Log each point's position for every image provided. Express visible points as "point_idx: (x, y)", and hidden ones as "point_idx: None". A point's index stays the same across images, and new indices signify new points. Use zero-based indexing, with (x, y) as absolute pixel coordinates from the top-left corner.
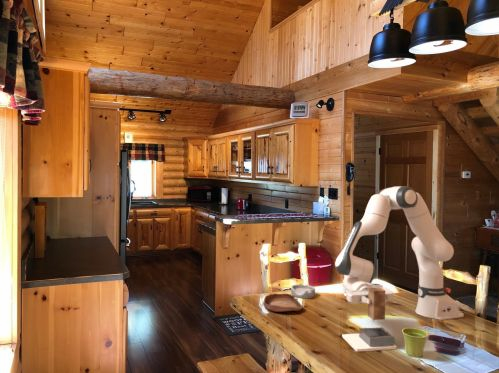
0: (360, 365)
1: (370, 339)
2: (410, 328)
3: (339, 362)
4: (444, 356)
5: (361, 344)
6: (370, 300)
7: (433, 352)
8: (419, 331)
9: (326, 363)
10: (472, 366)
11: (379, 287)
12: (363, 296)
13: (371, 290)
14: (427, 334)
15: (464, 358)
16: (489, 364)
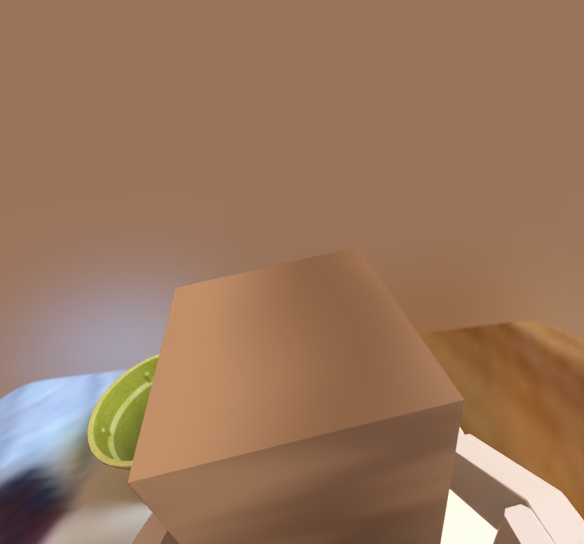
0: (440, 347)
1: None
2: (132, 461)
3: (528, 356)
4: (87, 451)
5: (458, 532)
6: None
7: (95, 490)
8: (102, 447)
9: (578, 343)
10: (71, 386)
11: (150, 451)
12: (556, 541)
13: (389, 306)
14: (114, 383)
15: (30, 441)
16: (3, 405)
